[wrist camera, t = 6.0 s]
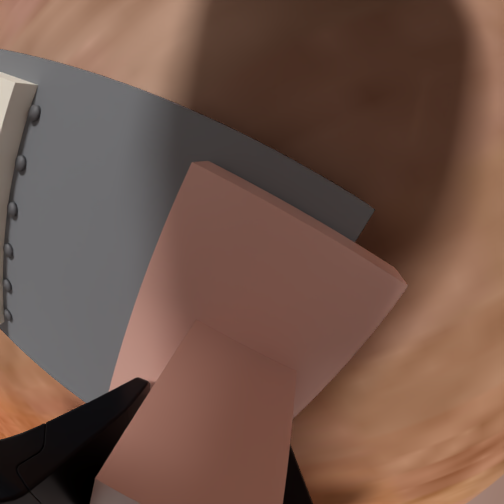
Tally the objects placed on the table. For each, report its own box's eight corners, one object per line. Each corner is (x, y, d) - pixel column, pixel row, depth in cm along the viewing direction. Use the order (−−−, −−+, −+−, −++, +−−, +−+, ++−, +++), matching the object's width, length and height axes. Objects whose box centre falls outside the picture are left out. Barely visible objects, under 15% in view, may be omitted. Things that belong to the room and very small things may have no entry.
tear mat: (367, 203, 8) (375, 209, 7) (192, 447, 13) (186, 460, 12) (-38, 43, 8) (-48, 42, 7) (-69, 220, 13) (-78, 223, 12)
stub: (395, 267, 8) (506, 458, 2) (218, 466, 12) (182, 572, 6) (208, 160, 8) (-11, 196, 2) (111, 411, 12) (46, 504, 6)
